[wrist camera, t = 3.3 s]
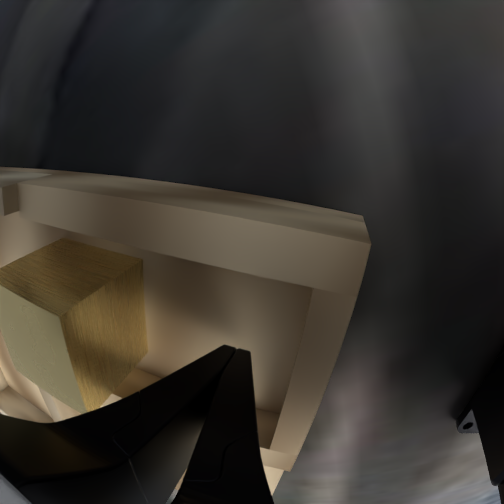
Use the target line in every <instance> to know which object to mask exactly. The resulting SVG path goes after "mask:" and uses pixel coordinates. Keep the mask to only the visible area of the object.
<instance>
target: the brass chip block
mask: <svg viewBox="0 0 504 504" xmlns="http://www.w3.org/2000/svg"><path fill="white" fill-rule="evenodd" d="M0 330H1V332H2V335H3V338H4V341H5V344H6V346H7V349H8V352H9V354H10V357H11V359H12V362H13V364H14V367H15V369H16V370H17V371H18V372H19V373H21V374H22V375H23V376H25V377H26V378H27V379H29V380H30V381H32V382H33V383H34V384H36V385H37V386H39V387H40V388H42V389H43V390H44V391H46V392H47V393H49V394H50V395H52V396H53V397H55V398H56V399H58V400H60V401H61V402H63V403H64V404H66V405H68V406H69V407H71V408H72V409H74V410H76V411H77V412H79V413H81V414H83V413H86V412H89V411H92V410H95V409H98V408H100V407H101V406H102V404H103V403H104V402H105V401H106V400H107V399H108V398H109V396H110V395H111V394H112V393H113V392H114V391H115V389H116V388H117V387H118V386H119V385H120V384H121V383H122V381H123V380H124V379H125V378H126V377H127V376H128V375H129V373H130V372H131V371H132V370H133V369H134V368H135V367H136V365H137V364H138V363H139V362H140V361H141V360H142V359H143V357H144V356H145V355H146V354H147V353H148V342H147V330H146V316H145V300H144V278H143V259H140V258H137V257H133V256H129V255H125V254H121V253H118V252H114V251H110V250H107V249H103V248H99V247H95V246H92V245H88V244H85V243H81V242H77V241H74V240H70V239H67V238H61V239H59V240H57V241H55V242H53V243H50V244H48V245H46V246H44V247H42V248H40V249H38V250H36V251H33V252H31V253H29V254H27V255H25V256H23V257H21V258H19V259H17V260H15V261H13V262H11V263H9V264H7V265H5V266H3V267H1V268H0Z"/></svg>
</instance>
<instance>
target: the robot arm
mask: <svg viewBox="0 0 504 504" xmlns="http://www.w3.org/2000/svg"><path fill="white" fill-rule="evenodd" d="M456 425H457V430H458V432H459V433H479V435H480V438H481V442H482V446H483V450H484V454H485V458H486V462H487V466H488V471H489V475H490V480H491V483H492V485H494V486H497V485H498V489H499V494H500V499H501V504H504V347H503V349H502V350H501V352H500V354H499V356H498V358H497V359H496V361H495V363H494V365H493V366H492V368H491V370H490V371H489V373H488V375H487V376H486V378H485V380H484V381H483V383H482V384H481V386H480V388H479V389H478V391H477V392H476V394H475V395H474V397H473V398H472V400H471V401H470V403H469V404H468V405H467V407H466V408H465V410H464V411H463V412H462V414H461V415H460V417H459V418H458V419H457V421H456ZM186 469H187V470H186ZM185 470H186V472H185ZM184 472H185V475H184V478H183V482H182V483H181V486H180V488H179V490H178V493H177V495H176V497H175V498H174V500H173V501H172V503H171V504H274V502H273V498H272V495H271V492H270V488H269V485H268V481H267V478H266V474H265V471H264V466H263V462H262V458H261V451H260V444H259V434H258V425H257V414H256V403H255V392H254V381H253V370H252V359H251V352H250V351H248V350H244V349H241V348H238V349H237V348H236V347H233V346H229V345H225V344H224V345H222V346H220V347H218V348H216V349H215V350H213V351H211V352H209V353H207V354H206V355H204V356H202V357H200V358H199V359H197V360H195V361H193V362H191V363H190V364H188V365H186V366H184V367H182V368H180V369H179V370H177V371H175V372H173V373H171V374H169V375H167V376H166V377H164V378H162V379H160V380H158V381H156V382H154V383H152V384H150V385H148V386H147V387H145V388H143V389H141V390H140V391H137V392H135V393H133V394H131V395H129V396H127V397H124V398H122V399H120V400H118V401H116V402H114V403H111V404H108V405H106V406H103V407H101V408H98V409H95V410H92V411H89V412H86V413H83V414H80V415H77V416H74V417H71V418H68V419H65V420H61V421H58V422H51V423H40V422H34V421H29V420H25V419H20V418H15V417H11V416H7V415H3V414H0V504H165V503H166V502H167V500H168V498H169V497H170V495H171V494H172V492H173V490H174V489H175V487H176V485H177V484H178V482H179V480H180V479H181V477H182V475H183V474H184Z"/></svg>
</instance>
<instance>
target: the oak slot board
mask: <svg viewBox="0 0 504 504" xmlns="http://www.w3.org/2000/svg"><path fill="white" fill-rule="evenodd" d="M61 238H67V239H70V240H74V241H77V242H81V243H85V244H88V245H92V246H95V247H99V248H103V249H107V250H110V251H114V252H118V253H121V254H125V255H129V256H133V257H137V258H140V259H143V278H144V300H145V316H146V330H147V342H148V353H147V354H146V355H145V356H144V357H143V359H142V360H141V361H140V362H139V363H138V364H137V365H136V367H135V368H134V369H133V370H132V371H131V372H130V373H129V375H128V376H127V377H126V378H125V379H124V380H123V381H122V383H121V384H120V385H119V386H118V387H117V388H116V389H115V391H114V392H113V393H112V394H111V395H110V396H109V398H108V399H107V400H106V401H105V402H104V403H103V404H102V406H101V407H103V406H106V405H108V404H111V403H114V402H116V401H118V400H120V399H122V398H124V397H127V396H129V395H131V394H133V393H135V392H137V391H140V390H141V389H143V388H145V387H147V386H148V385H150V384H152V383H154V382H156V381H158V380H160V379H162V378H164V377H166V376H167V375H169V374H171V373H173V372H175V371H177V370H179V369H180V368H182V367H184V366H186V365H188V364H190V363H191V362H193V361H195V360H197V359H199V358H200V357H202V356H204V355H206V354H207V353H209V352H211V351H213V350H215V349H216V348H218V347H220V346H222V345H224V344H225V345H229V346H233V347H236V348H237V349H238V348H241V349H244V350H248V351H250V352H251V359H252V370H253V381H254V392H255V403H256V414H257V425H258V434H259V444H260V451H261V458H262V462H263V466H264V471H265V474H266V478H267V481H268V485H269V488H270V492H271V495H272V494H273V492H274V490H275V488H276V486H277V484H278V482H279V480H280V477H281V475H282V473H283V471H284V470H286V471H290V470H291V468H292V466H293V464H294V462H295V460H296V458H297V456H298V454H299V451H300V449H301V447H302V445H303V443H304V440H305V438H306V436H307V434H308V431H309V429H310V427H311V424H312V422H313V420H314V417H315V415H316V412H317V410H318V408H319V405H320V403H321V400H322V398H323V395H324V393H325V390H326V387H327V385H328V382H329V380H330V377H331V374H332V371H333V369H334V366H335V363H336V360H337V358H338V355H339V352H340V349H341V346H342V343H343V340H344V337H345V334H346V331H347V328H348V325H349V322H350V319H351V316H352V312H353V309H354V306H355V303H356V299H357V296H358V293H359V289H360V286H361V282H362V278H363V275H364V271H365V268H366V264H367V260H368V256H369V252H370V248H371V241H370V238H369V234H368V231H367V228H366V225H365V222H364V218H363V216H361V215H357V214H352V213H347V212H343V211H338V210H333V209H328V208H323V207H318V206H313V205H308V204H302V203H297V202H292V201H286V200H281V199H275V198H269V197H264V196H258V195H252V194H246V193H240V192H234V191H227V190H221V189H214V188H208V187H201V186H194V185H187V184H180V183H172V182H165V181H157V180H149V179H140V178H132V177H123V176H114V175H104V174H94V173H83V172H72V171H60V170H46V169H31V168H14V167H0V268H1V267H3V266H5V265H7V264H9V263H11V262H13V261H15V260H17V259H19V258H21V257H23V256H25V255H27V254H29V253H31V252H33V251H36V250H38V249H40V248H42V247H44V246H46V245H48V244H50V243H53V242H55V241H57V240H59V239H61ZM101 407H100V408H101ZM0 412H1V413H2V414H3V415H7V416H11V417H15V418H20V419H25V420H29V421H34V422H40V423H51V422H58V421H61V420H65V419H68V418H71V417H74V416H77V415H80V414H81V413H79V412H77V411H76V410H74V409H72V408H71V407H69V406H68V405H66V404H64V403H63V402H61V401H60V400H58V399H56V398H55V397H53V396H52V395H50V394H49V393H47V392H46V391H44V390H43V389H42V388H40V387H39V386H37V385H36V384H34V383H33V382H32V381H30V380H29V379H27V378H26V377H25V376H23V375H22V374H21V373H19V372H18V371H17V370H16V369H15V367H14V364H13V362H12V359H11V357H10V354H9V352H8V349H7V346H6V344H5V341H4V338H3V335H2V332H1V330H0ZM186 470H187V469H186ZM186 470H185V472H186ZM185 472H184V474H183V475H182V477H181V479H180V480H179V482H178V484H177V485H176V487H175V489H177V490H179V488H180V486H181V483H182V482H183V478H184V475H185Z"/></svg>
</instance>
